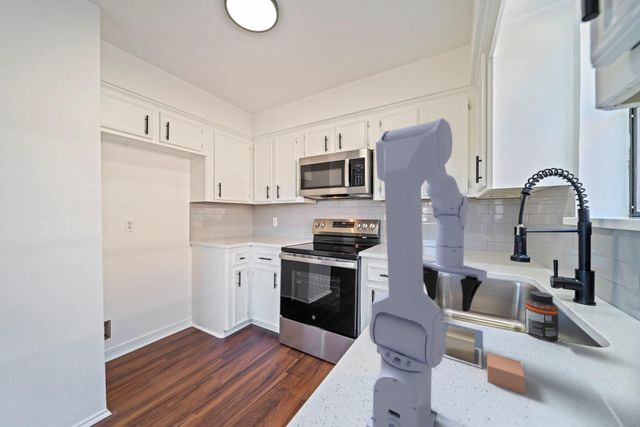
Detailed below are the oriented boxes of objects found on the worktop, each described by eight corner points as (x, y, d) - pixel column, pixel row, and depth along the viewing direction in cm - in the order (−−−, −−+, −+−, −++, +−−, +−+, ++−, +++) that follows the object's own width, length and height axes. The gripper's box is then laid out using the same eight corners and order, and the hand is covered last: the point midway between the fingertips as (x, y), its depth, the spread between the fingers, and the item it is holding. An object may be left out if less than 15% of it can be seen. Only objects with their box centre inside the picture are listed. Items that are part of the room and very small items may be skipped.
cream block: (474, 362, 48) (474, 342, 48) (445, 353, 51) (446, 334, 51) (474, 350, 52) (474, 332, 52) (448, 343, 55) (448, 325, 55)
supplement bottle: (537, 332, 63) (538, 288, 63) (564, 344, 57) (565, 296, 57) (518, 334, 61) (519, 290, 61) (545, 347, 56) (546, 298, 56)
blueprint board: (483, 374, 46) (483, 368, 46) (407, 350, 54) (407, 345, 54) (482, 334, 61) (482, 330, 61) (423, 320, 69) (423, 316, 69)
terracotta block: (524, 400, 40) (524, 376, 40) (487, 388, 42) (487, 365, 42) (520, 383, 44) (520, 361, 44) (486, 372, 47) (487, 352, 47)
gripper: (492, 248, 52) (491, 311, 52) (428, 241, 64) (427, 292, 64) (479, 251, 48) (478, 319, 48) (413, 243, 59) (412, 298, 59)
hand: (448, 304), depth 55 cm, fingers open, 7 cm apart
